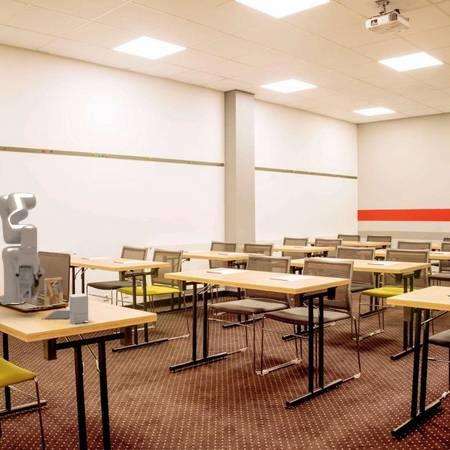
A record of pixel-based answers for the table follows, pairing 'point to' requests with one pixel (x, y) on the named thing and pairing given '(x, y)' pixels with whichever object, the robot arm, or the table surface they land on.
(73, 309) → the supplement box
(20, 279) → the coffee box
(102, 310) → the table surface
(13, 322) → the table surface
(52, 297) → the candy box
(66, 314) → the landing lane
